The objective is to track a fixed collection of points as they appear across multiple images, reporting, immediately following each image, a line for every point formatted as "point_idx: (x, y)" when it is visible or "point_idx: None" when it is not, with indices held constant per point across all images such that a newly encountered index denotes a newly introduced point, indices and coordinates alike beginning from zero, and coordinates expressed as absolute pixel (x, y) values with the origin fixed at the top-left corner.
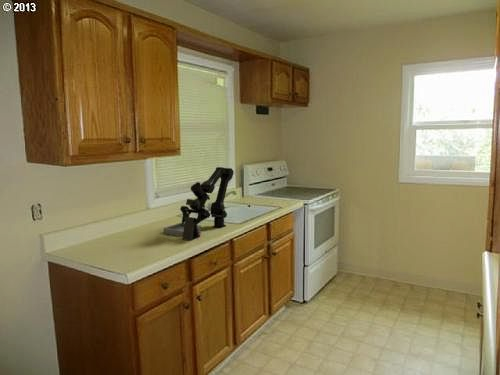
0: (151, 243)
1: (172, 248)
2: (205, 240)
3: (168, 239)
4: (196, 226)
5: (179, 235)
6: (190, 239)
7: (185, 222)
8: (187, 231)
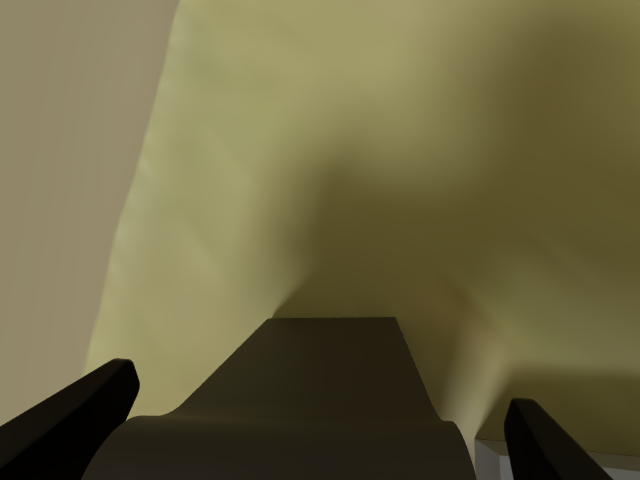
0: (579, 76)
1: (288, 69)
2: None
3: (546, 252)
4: None
5: None
6: (270, 320)
7: (418, 417)
8: (325, 348)
